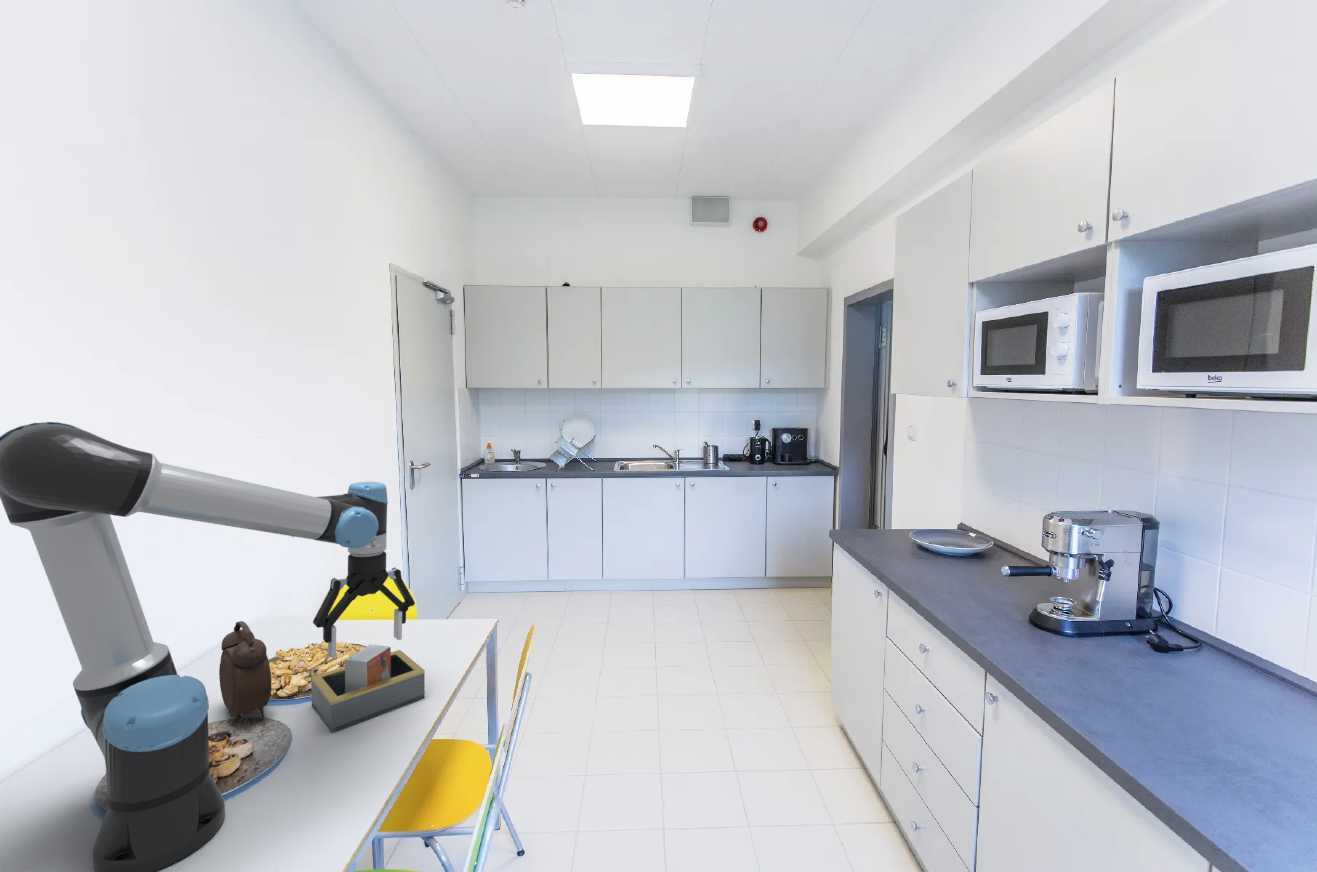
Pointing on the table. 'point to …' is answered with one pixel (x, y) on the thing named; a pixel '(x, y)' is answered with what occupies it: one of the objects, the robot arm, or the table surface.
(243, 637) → the alarm clock
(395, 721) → the table surface
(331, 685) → the box
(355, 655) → the small box
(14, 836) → the table surface
